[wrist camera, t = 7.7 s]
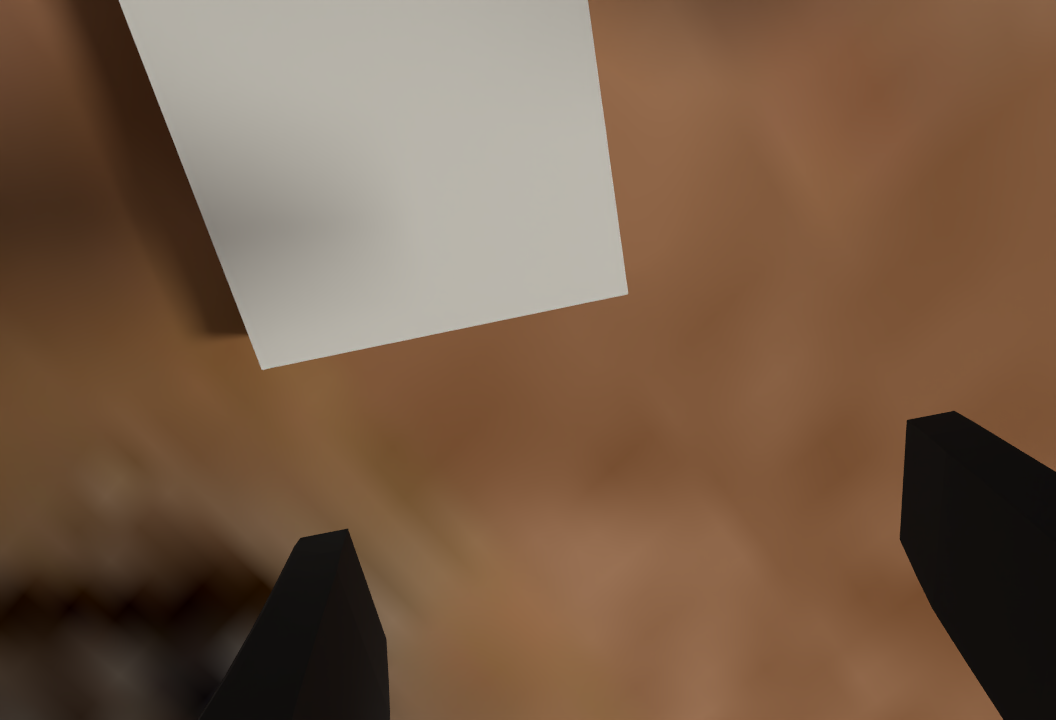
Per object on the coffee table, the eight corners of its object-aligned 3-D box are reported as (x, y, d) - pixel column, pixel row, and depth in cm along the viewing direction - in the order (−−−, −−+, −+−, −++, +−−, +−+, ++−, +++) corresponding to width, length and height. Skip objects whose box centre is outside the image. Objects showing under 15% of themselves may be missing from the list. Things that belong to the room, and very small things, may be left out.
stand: (560, -122, 18) (572, -113, 17) (615, 263, 22) (628, 294, 21) (132, -33, 18) (111, -17, 17) (270, 334, 22) (261, 369, 21)
